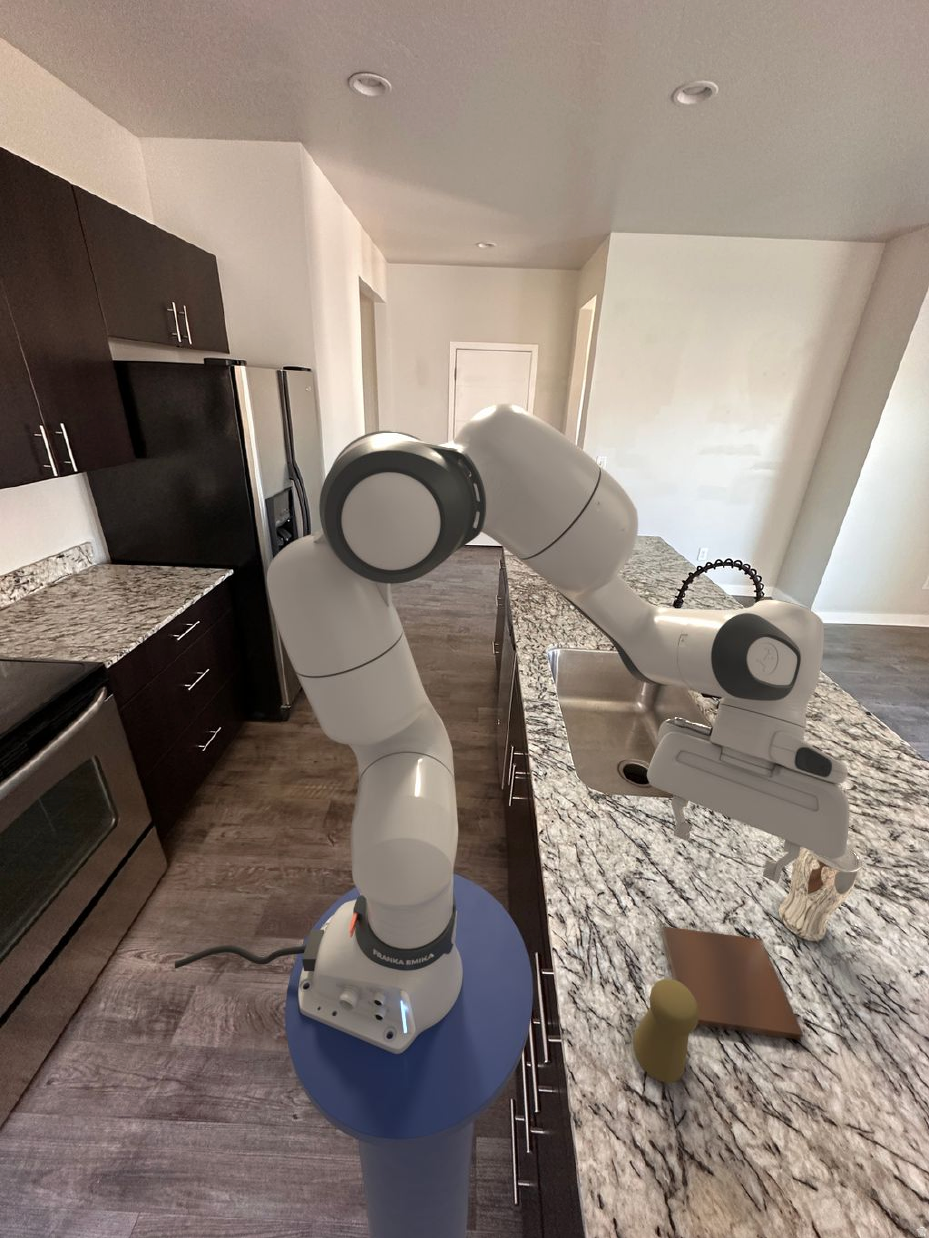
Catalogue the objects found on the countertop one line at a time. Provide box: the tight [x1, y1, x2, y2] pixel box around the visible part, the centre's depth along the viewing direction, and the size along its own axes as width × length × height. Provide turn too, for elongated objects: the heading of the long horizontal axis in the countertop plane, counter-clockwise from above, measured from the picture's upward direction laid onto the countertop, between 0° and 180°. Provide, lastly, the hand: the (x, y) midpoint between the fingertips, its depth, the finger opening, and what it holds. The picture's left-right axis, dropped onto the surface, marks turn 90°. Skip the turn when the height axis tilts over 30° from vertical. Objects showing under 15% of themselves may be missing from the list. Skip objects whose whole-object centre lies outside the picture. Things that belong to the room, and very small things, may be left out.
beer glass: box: [778, 844, 863, 942], centre depth 72 cm, size 7×7×15 cm
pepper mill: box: [632, 978, 699, 1084], centre depth 57 cm, size 6×6×11 cm
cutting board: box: [660, 925, 804, 1041], centre depth 67 cm, size 14×12×1 cm
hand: (723, 857), depth 56 cm, fingers open, 8 cm apart
